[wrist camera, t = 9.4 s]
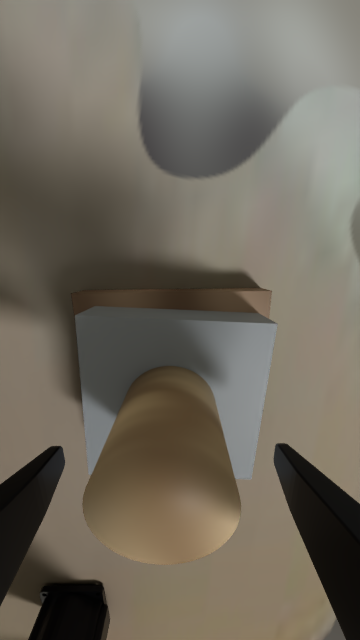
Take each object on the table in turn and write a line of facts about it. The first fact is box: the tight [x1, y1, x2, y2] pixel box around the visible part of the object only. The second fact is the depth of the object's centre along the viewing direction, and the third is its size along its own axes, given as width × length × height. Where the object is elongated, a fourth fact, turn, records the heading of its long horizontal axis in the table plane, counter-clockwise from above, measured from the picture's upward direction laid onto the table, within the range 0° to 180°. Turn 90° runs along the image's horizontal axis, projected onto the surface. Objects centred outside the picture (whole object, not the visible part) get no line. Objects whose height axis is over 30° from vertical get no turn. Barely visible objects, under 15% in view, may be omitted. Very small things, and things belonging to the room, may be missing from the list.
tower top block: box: [75, 306, 277, 479], centre depth 13 cm, size 10×10×2 cm
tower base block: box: [71, 288, 272, 324], centre depth 15 cm, size 12×12×2 cm
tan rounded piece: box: [82, 366, 241, 565], centre depth 9 cm, size 5×5×5 cm
